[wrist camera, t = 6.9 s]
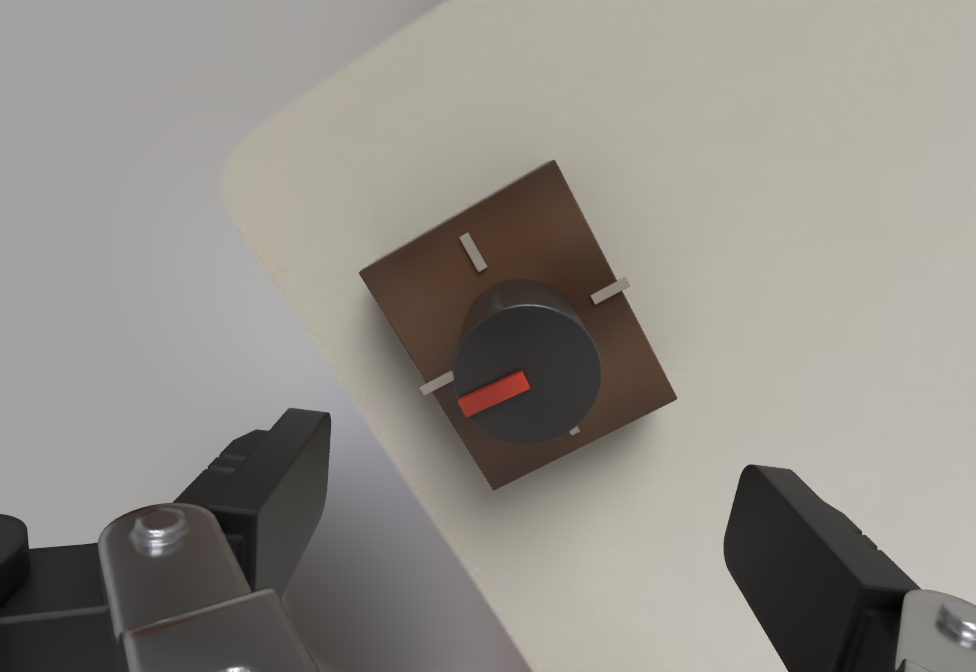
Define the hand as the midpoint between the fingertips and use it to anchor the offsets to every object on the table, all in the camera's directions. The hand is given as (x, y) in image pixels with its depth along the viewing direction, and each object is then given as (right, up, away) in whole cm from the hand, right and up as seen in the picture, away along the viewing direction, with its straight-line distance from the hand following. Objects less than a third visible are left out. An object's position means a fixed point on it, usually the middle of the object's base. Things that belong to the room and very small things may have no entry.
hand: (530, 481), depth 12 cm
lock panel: (0, +4, +13) cm, 14 cm away
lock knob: (0, +3, +11) cm, 11 cm away
